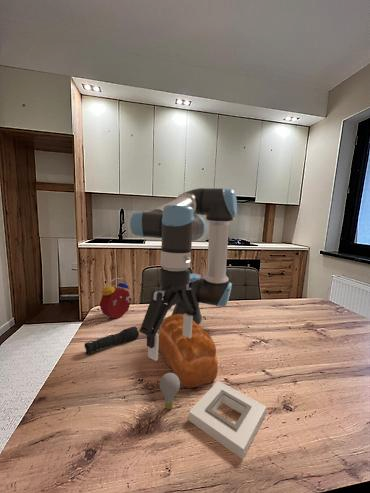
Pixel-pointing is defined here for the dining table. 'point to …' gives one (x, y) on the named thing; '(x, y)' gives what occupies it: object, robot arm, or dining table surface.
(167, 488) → the dining table surface
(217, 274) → the robot arm
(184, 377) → the bread
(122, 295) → the alarm clock
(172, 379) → the light bulb
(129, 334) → the flashlight
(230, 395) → the socket block
